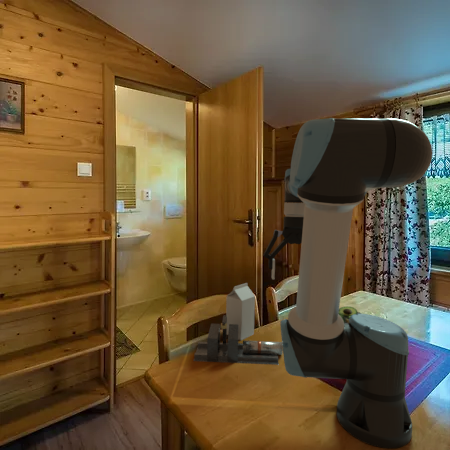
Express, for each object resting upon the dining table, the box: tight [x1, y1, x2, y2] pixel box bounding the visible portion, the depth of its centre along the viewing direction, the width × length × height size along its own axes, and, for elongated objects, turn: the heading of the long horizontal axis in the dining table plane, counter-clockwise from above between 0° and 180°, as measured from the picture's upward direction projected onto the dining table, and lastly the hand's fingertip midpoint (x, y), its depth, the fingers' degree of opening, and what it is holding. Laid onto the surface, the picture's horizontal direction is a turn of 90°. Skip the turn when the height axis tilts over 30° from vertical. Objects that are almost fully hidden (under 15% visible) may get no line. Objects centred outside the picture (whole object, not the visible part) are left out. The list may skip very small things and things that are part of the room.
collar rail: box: [193, 314, 280, 366], centre depth 98 cm, size 12×25×11 cm, turn 87°
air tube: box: [242, 340, 283, 356], centre depth 98 cm, size 12×4×4 cm, turn 87°
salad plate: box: [338, 306, 363, 323], centre depth 125 cm, size 19×18×5 cm
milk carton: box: [225, 282, 256, 341], centre depth 111 cm, size 7×7×19 cm
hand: (293, 279), depth 106 cm, fingers open, 13 cm apart
